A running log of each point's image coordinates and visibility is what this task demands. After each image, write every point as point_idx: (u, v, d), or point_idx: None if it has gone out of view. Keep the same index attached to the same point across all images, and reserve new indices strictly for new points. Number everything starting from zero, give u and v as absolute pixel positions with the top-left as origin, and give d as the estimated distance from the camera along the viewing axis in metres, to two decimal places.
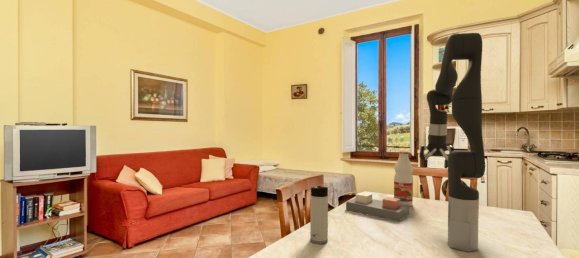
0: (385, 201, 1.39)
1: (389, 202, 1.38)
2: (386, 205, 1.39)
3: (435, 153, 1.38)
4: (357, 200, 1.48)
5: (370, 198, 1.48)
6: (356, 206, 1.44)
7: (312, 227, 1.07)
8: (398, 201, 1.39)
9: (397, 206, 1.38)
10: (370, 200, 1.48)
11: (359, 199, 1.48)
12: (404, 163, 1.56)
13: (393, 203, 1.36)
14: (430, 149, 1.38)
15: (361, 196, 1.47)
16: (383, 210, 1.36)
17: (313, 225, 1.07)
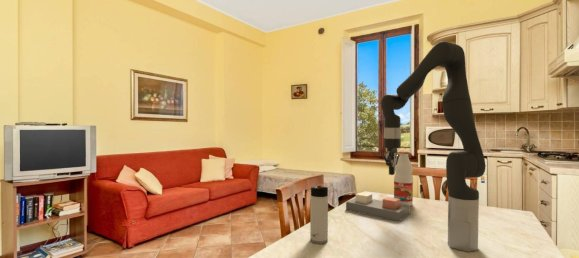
0: (385, 201, 1.39)
1: (389, 202, 1.38)
2: (386, 205, 1.39)
3: None
4: (357, 200, 1.48)
5: (370, 198, 1.48)
6: (356, 206, 1.44)
7: (312, 227, 1.07)
8: (398, 201, 1.39)
9: (397, 206, 1.38)
10: (370, 200, 1.48)
11: (359, 199, 1.48)
12: (404, 163, 1.56)
13: (393, 203, 1.36)
14: (392, 156, 1.37)
15: (361, 196, 1.47)
16: (383, 210, 1.36)
17: (313, 225, 1.07)
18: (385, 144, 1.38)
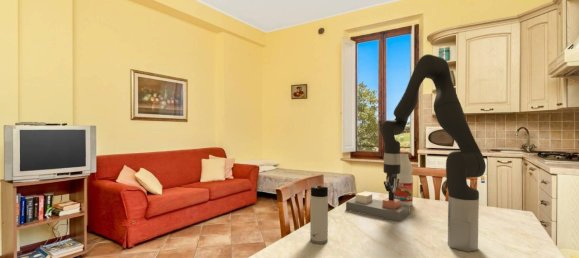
0: (385, 202, 1.39)
1: (389, 203, 1.38)
2: (386, 206, 1.39)
3: None
4: (357, 200, 1.48)
5: (370, 198, 1.48)
6: (356, 206, 1.44)
7: (312, 227, 1.07)
8: (398, 202, 1.39)
9: (397, 207, 1.38)
10: (370, 200, 1.48)
11: (359, 199, 1.48)
12: (404, 163, 1.56)
13: (393, 204, 1.37)
14: (391, 182, 1.38)
15: (361, 196, 1.47)
16: (383, 210, 1.36)
17: (313, 225, 1.07)
18: (385, 170, 1.39)
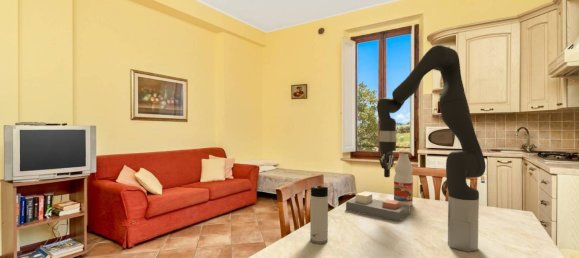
0: (385, 204, 1.39)
1: (389, 205, 1.38)
2: None
3: None
4: (357, 200, 1.48)
5: (370, 198, 1.48)
6: (356, 206, 1.44)
7: (312, 227, 1.07)
8: (398, 204, 1.39)
9: None
10: (370, 200, 1.48)
11: (359, 199, 1.48)
12: (404, 163, 1.56)
13: (393, 206, 1.37)
14: (387, 159, 1.39)
15: (361, 196, 1.47)
16: (383, 210, 1.36)
17: (313, 225, 1.07)
18: (380, 147, 1.40)
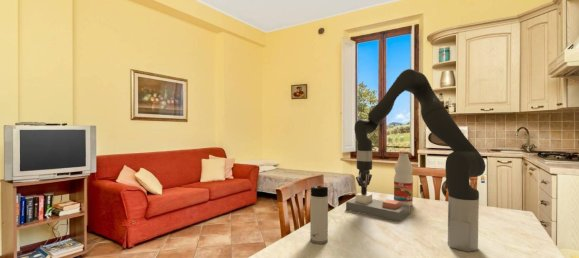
0: (385, 204, 1.39)
1: (389, 205, 1.38)
2: None
3: None
4: (357, 200, 1.48)
5: (370, 198, 1.48)
6: (356, 206, 1.44)
7: (312, 227, 1.07)
8: (398, 204, 1.39)
9: None
10: (370, 200, 1.48)
11: (359, 199, 1.48)
12: (404, 163, 1.56)
13: (393, 206, 1.37)
14: (363, 177, 1.47)
15: (361, 196, 1.47)
16: (383, 210, 1.36)
17: (313, 225, 1.07)
18: (357, 166, 1.48)
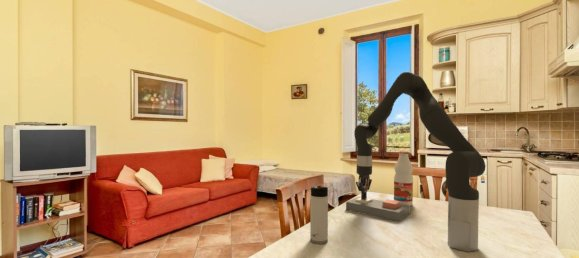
0: (385, 204, 1.39)
1: (389, 205, 1.38)
2: None
3: None
4: None
5: None
6: (356, 206, 1.44)
7: (312, 227, 1.07)
8: (398, 204, 1.39)
9: None
10: None
11: None
12: (404, 163, 1.56)
13: (393, 206, 1.37)
14: (363, 182, 1.47)
15: (361, 201, 1.47)
16: (383, 210, 1.36)
17: (313, 225, 1.07)
18: (357, 171, 1.48)
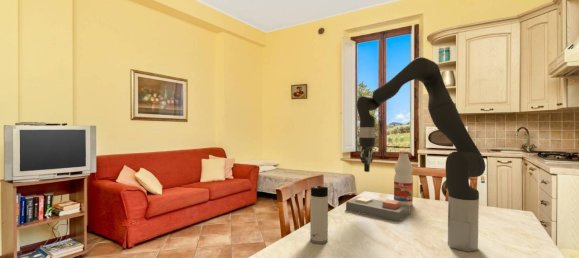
0: (385, 204, 1.39)
1: (389, 205, 1.38)
2: None
3: None
4: None
5: None
6: (356, 206, 1.44)
7: (312, 227, 1.07)
8: (398, 204, 1.39)
9: None
10: None
11: None
12: (404, 163, 1.56)
13: (393, 206, 1.37)
14: (366, 154, 1.46)
15: (361, 201, 1.47)
16: (383, 210, 1.36)
17: (313, 225, 1.07)
18: (360, 143, 1.47)
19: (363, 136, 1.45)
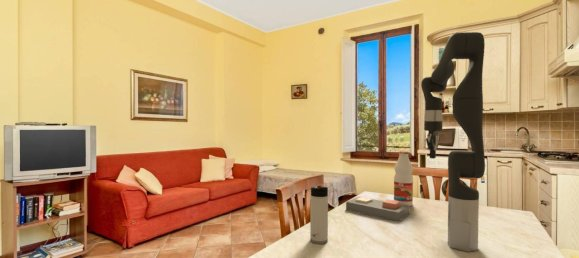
0: (385, 204, 1.39)
1: (389, 205, 1.38)
2: None
3: None
4: None
5: None
6: (356, 206, 1.44)
7: (312, 227, 1.07)
8: (398, 204, 1.39)
9: None
10: None
11: None
12: (404, 163, 1.56)
13: (393, 206, 1.37)
14: (433, 139, 1.35)
15: (361, 201, 1.47)
16: (383, 210, 1.36)
17: (313, 225, 1.07)
18: (426, 127, 1.36)
19: (430, 120, 1.34)
